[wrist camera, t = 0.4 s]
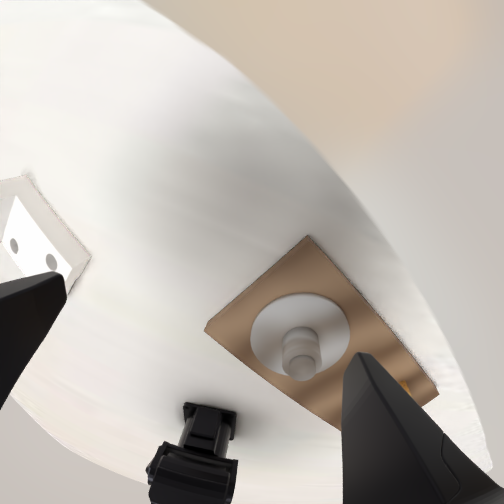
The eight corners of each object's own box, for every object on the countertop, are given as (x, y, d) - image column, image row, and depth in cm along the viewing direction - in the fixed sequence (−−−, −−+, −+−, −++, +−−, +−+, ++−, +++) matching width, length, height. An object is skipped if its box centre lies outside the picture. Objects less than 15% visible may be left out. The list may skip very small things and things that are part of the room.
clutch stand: (435, 386, 26) (451, 420, 20) (358, 434, 30) (364, 469, 24) (307, 235, 22) (315, 264, 16) (207, 321, 25) (189, 364, 20)
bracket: (11, 219, 25) (-32, 237, 18) (28, 174, 23) (-22, 186, 16) (70, 294, 27) (29, 327, 20) (92, 255, 25) (44, 286, 18)
